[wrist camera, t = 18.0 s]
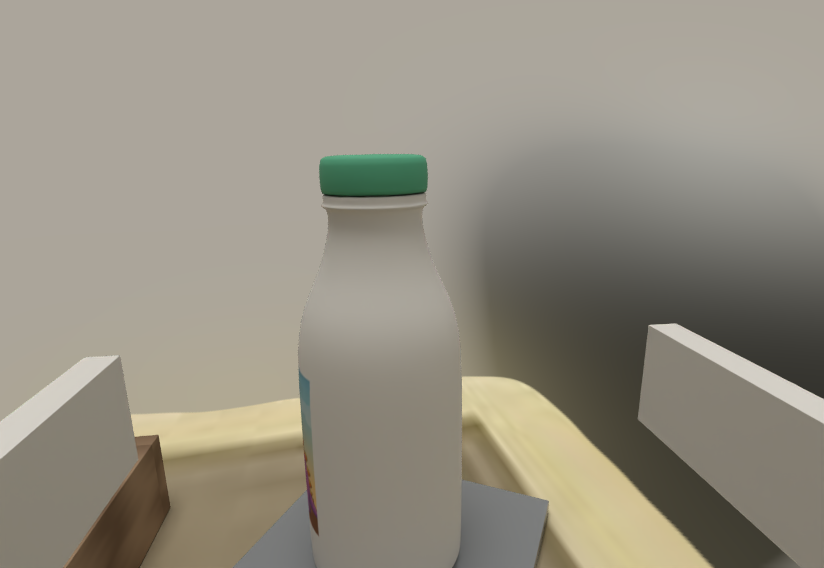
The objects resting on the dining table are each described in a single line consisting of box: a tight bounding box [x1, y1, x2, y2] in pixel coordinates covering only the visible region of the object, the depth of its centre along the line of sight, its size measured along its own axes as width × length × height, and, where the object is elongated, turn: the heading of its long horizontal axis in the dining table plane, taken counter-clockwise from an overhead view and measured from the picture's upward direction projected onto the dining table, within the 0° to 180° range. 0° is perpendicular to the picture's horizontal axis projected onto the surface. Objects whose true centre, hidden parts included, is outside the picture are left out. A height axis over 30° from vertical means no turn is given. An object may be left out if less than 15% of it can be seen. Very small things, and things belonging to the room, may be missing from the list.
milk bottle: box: [298, 154, 462, 568], centre depth 23 cm, size 8×8×20 cm
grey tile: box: [233, 480, 549, 568], centre depth 26 cm, size 14×14×1 cm
